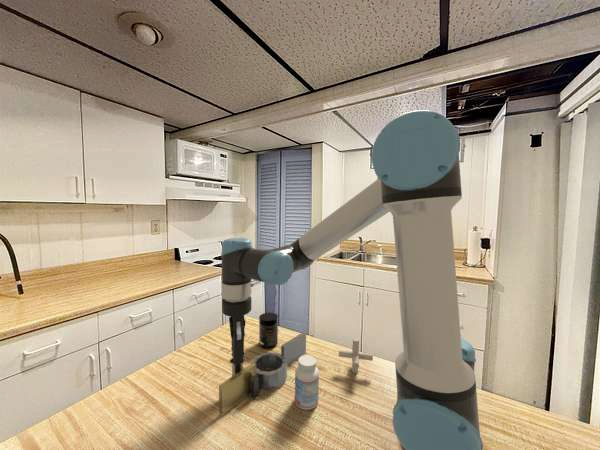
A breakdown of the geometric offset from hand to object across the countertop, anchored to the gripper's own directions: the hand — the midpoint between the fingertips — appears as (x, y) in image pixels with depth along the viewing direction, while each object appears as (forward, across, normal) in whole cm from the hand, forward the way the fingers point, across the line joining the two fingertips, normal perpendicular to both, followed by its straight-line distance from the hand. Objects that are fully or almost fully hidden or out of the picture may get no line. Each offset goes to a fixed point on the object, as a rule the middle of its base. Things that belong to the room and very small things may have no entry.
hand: (237, 381), depth 67 cm
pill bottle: (+3, -9, -17) cm, 19 cm away
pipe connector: (+3, -3, -35) cm, 35 cm away
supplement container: (+3, +20, -13) cm, 24 cm away
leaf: (+2, -4, 0) cm, 4 cm away
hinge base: (+3, +5, -13) cm, 14 cm away
